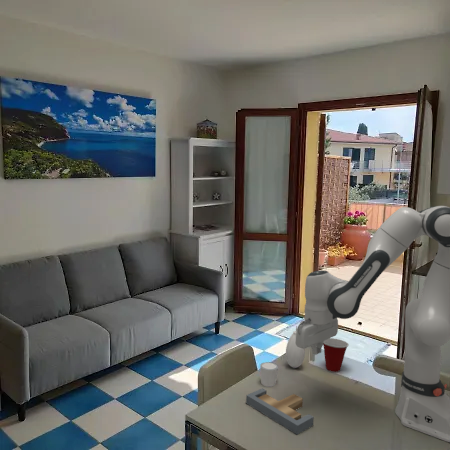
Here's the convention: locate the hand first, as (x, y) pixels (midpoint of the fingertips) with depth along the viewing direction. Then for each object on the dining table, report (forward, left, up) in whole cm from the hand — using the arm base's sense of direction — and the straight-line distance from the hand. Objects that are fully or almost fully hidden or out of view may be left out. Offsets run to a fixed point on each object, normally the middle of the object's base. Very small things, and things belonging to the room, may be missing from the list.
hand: (316, 353), depth 154 cm
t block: (+1, +14, -17) cm, 22 cm away
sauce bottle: (+21, -13, -17) cm, 30 cm away
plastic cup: (+10, -25, -17) cm, 32 cm away
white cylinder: (+18, +6, -17) cm, 25 cm away
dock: (+1, +18, -17) cm, 24 cm away
